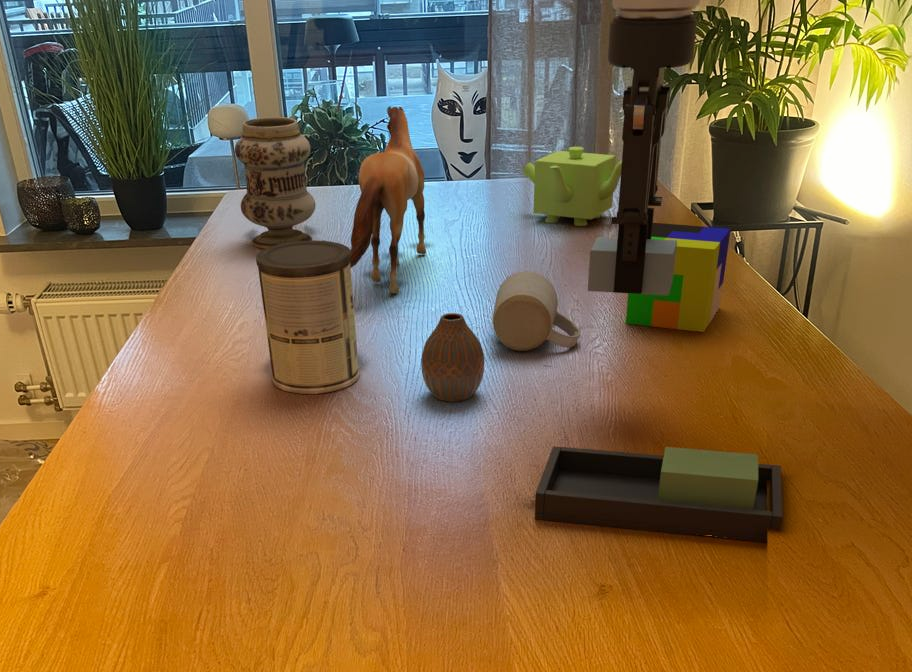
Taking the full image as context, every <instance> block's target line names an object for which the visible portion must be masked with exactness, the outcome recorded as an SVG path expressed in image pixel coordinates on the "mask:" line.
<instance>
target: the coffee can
mask: <svg viewBox="0 0 912 672" xmlns="http://www.w3.org/2000/svg"><path fill="white" fill-rule="evenodd" d="M350 258H351V248H349V247H348V246H347V245H345V244H343V243H339V242H335V241H329V240H312V241H296V242H289V243H282V244H278V245H275V246H271V247H268V248H266V249H262V250H260V251H259V252H258V253H257V254H256V255H255V263H256V266H257V269H258V270H257V271H258V276H259V277H258V278H259V284H260V285H259V286H260V292H261V293H260V294H261V299H262V307H263V313H264V321H265V328H266V336H267V345H268V351H269V358H270V359H269V360H270V368H271V374H272V377H271V378H272V383H273V385H274V386H275V387H276V388H277V389H280V390H281V391H284V392H287V393H293V394H300V395H317V394H327V393H331V392H337V391H339V390H342V389H345V388H347V387H350V386H351V385H353V384H355V383H356V382H357V381H358V380H359V377H360V374H361V373H360V369H359V368H360V367H359V358H358V345H357V332H356V321H355V307H354V293H353V281H352V268H351V267H350Z"/></svg>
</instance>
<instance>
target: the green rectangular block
mask: <svg viewBox="0 0 912 672" xmlns="http://www.w3.org/2000/svg"><path fill="white" fill-rule="evenodd" d="M663 456H664V457H663V463H662V468H661V475H660V484H659V492H658V501H667V502H677V503H688V504H698V505H709V506H719V507H730V508H740V509H751V510H753V507H754V502H755V496H756V491H757V485H758V464H759V454H758V453H757V454H754V453H746V452H744V453H743V452H730V451H719V450H710V449H709V450H708V449H698V448H697V449H696V448H684V447H672V446H665V447H664V452H663Z"/></svg>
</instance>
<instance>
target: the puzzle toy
mask: <svg viewBox="0 0 912 672" xmlns="http://www.w3.org/2000/svg"><path fill="white" fill-rule="evenodd" d="M730 237H731V228H730V227H729V228H727V227H714V226H704V225H703V226H702V225H691V224H690V225H689V224H676V223H663V222H653V225H652V236H651V239H657V240H677V247H676V256H675V265H674V274H673V281H672V285H671V288H670V292H669V295H668V296H665V295H648V294H631V293H627V303H626V314H625V324H626V325H636V326H646V327H654V328H663V329H671V330H679V331H680V330H681V331H688V332H689V331H691V332H697V331H698V332H699V333H705V331H706V330H707V328H708V327H709V325H710V323H711V322H712V320H713V319H714V317H715V316H716V314H717V313H718V312H719V310H720V308H721V301H722V293H723V287H724V280H725V272H726V265H727V259H728V251H729V244H730ZM718 309H719V310H718ZM716 312H717V313H716ZM714 315H715V316H714ZM705 329H706V330H705Z"/></svg>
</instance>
